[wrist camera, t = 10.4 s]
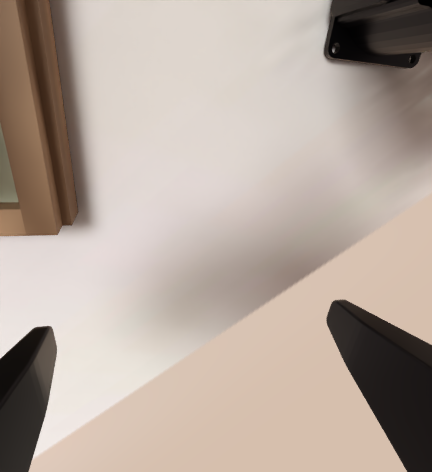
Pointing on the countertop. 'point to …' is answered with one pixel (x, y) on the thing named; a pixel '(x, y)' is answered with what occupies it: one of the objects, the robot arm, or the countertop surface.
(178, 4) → the countertop surface
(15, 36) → the wooden picture frame
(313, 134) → the countertop surface
